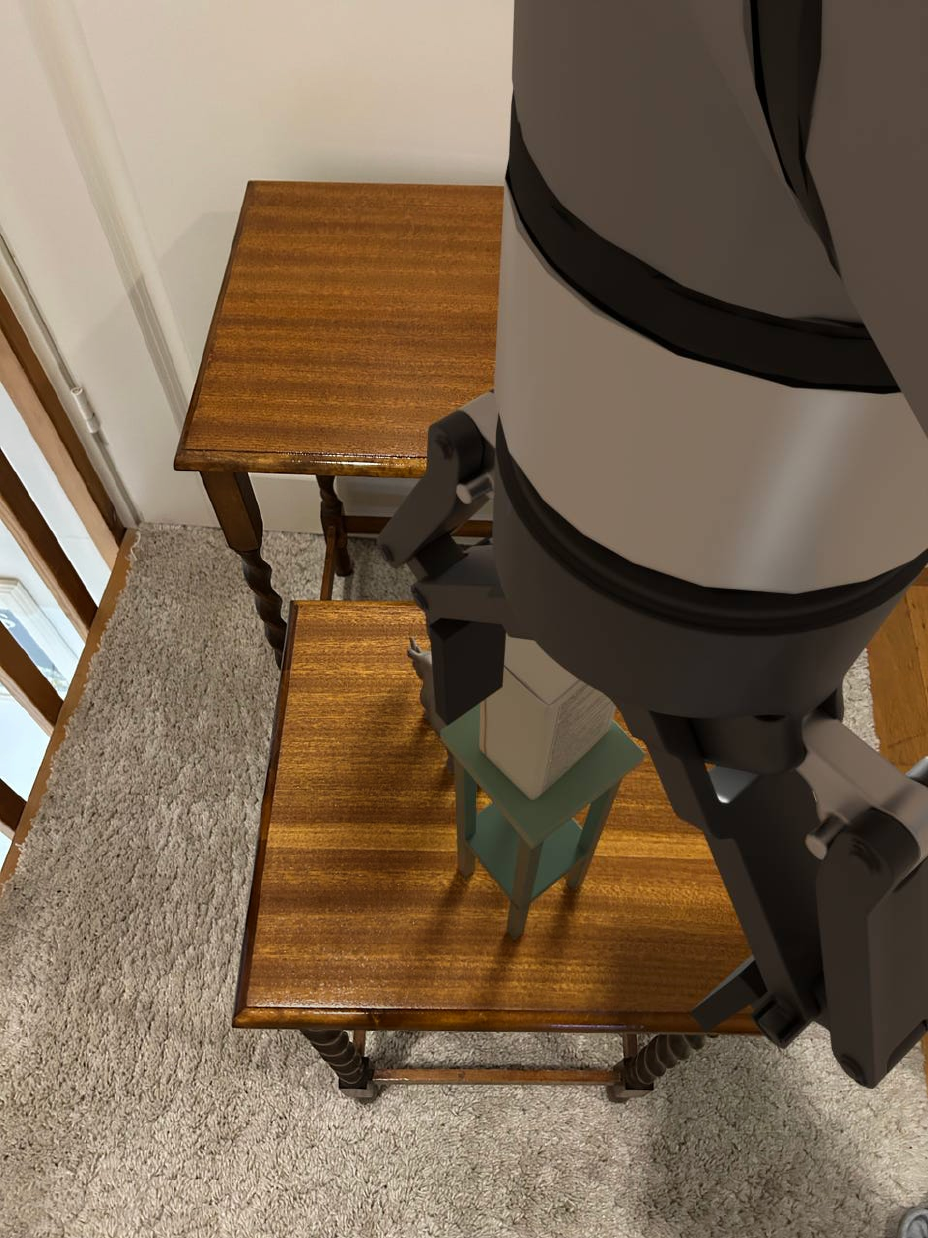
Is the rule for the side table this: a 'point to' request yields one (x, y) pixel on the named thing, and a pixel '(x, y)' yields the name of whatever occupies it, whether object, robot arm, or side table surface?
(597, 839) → the stand
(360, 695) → the side table surface
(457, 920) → the side table surface
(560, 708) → the cosmetic box
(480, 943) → the side table surface
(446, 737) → the green square board
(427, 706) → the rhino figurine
